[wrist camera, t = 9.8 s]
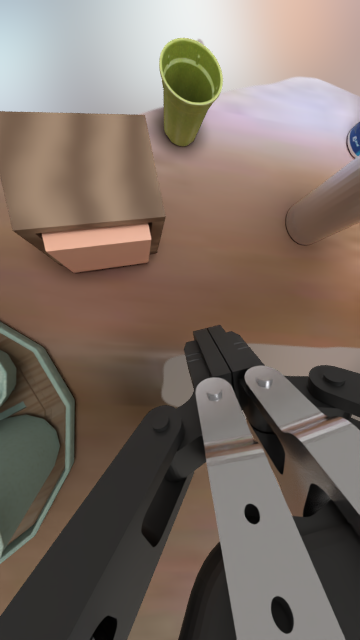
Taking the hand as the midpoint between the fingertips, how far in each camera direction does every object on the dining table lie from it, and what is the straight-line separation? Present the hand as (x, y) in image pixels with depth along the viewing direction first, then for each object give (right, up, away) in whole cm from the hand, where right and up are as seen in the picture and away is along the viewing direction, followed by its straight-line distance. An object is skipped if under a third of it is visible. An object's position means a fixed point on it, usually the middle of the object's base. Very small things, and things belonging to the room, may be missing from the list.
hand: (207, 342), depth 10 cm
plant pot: (-2, +37, +25) cm, 45 cm away
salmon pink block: (-14, +15, +21) cm, 29 cm away
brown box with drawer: (-15, +18, +22) cm, 32 cm away
